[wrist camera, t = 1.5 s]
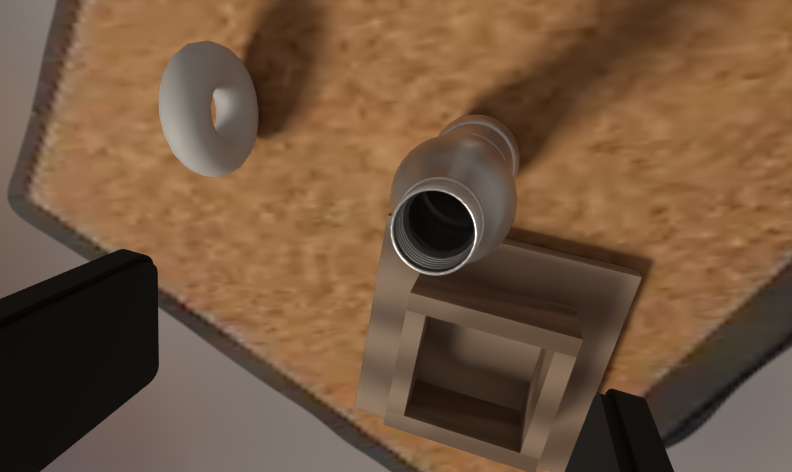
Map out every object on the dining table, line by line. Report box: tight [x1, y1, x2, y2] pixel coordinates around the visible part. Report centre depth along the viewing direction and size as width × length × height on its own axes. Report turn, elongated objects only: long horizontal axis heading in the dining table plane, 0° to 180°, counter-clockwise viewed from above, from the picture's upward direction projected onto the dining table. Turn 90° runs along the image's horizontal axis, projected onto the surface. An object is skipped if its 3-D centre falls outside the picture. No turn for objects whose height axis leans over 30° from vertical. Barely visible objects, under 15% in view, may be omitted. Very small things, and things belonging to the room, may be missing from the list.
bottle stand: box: [355, 213, 642, 472], centre depth 39 cm, size 20×20×6 cm
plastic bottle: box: [390, 114, 520, 276], centre depth 27 cm, size 6×7×20 cm
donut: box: [159, 41, 258, 177], centre depth 36 cm, size 10×4×10 cm, turn 178°
